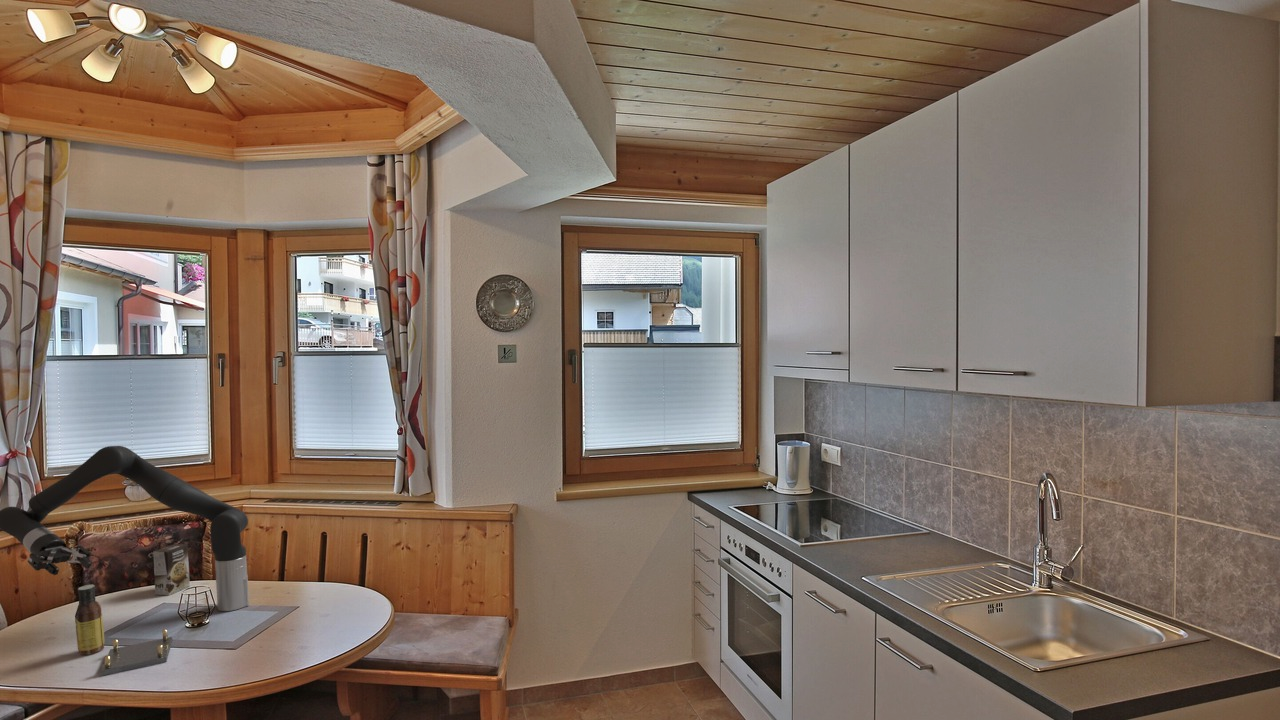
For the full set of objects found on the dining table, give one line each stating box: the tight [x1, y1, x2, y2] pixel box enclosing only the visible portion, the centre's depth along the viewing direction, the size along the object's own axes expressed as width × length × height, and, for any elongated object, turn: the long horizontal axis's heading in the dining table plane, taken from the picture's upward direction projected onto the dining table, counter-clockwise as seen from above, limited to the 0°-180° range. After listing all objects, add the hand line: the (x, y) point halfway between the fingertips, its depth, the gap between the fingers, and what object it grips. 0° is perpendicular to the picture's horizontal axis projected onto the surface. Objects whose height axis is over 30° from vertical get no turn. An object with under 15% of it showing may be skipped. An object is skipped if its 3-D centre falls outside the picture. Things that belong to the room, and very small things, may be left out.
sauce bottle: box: [74, 584, 105, 656], centre depth 201 cm, size 6×6×20 cm
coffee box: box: [152, 543, 191, 596], centre depth 249 cm, size 9×6×16 cm
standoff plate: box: [99, 628, 173, 677], centre depth 197 cm, size 15×15×4 cm
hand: (73, 569), depth 205 cm, fingers open, 8 cm apart
